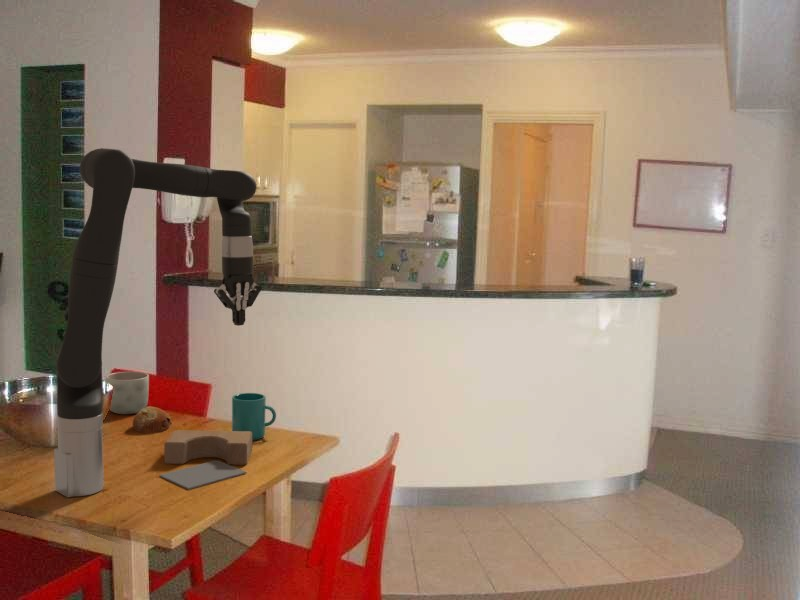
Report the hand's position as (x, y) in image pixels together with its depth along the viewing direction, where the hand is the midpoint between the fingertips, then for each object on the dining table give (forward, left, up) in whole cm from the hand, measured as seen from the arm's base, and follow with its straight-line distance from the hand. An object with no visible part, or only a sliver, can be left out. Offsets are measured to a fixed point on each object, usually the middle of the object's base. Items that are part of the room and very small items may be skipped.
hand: (239, 324), depth 198 cm
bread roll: (-1, +39, -35) cm, 52 cm away
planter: (+3, +60, -35) cm, 69 cm away
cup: (+15, +14, -35) cm, 40 cm away
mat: (-13, -3, -34) cm, 37 cm away
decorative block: (+3, -1, -32) cm, 32 cm away
